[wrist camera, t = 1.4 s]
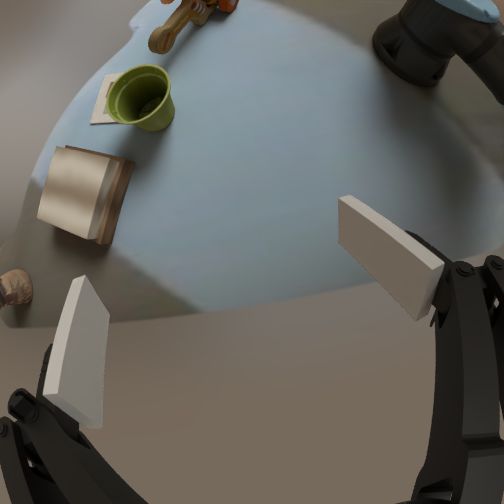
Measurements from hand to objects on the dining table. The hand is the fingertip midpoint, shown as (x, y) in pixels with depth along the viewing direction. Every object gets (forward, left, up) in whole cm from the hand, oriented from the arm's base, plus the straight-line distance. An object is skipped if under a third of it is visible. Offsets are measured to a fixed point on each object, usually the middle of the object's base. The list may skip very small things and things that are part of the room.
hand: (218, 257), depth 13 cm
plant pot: (-14, -19, -27) cm, 36 cm away
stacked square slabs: (+1, -26, -26) cm, 37 cm away
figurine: (+23, -40, -27) cm, 53 cm away
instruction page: (-16, -29, -26) cm, 43 cm away
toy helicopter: (-34, -20, -27) cm, 48 cm away
